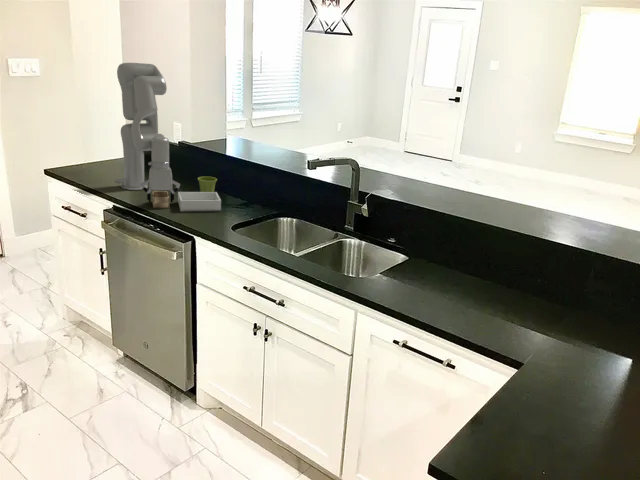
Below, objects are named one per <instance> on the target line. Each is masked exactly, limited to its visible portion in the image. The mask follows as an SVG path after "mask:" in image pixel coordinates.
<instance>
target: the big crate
mask: <svg viewBox="0 0 640 480" xmlns="http://www.w3.org/2000/svg"><path fill="white" fill-rule="evenodd" d="M177 203H178V207H179V211H180V212H221V211H222V199H221V197H220V195H219V194H218V192H217V191H214V192H200V191H177Z"/></svg>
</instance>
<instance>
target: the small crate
mask: <svg viewBox="0 0 640 480" xmlns="http://www.w3.org/2000/svg"><path fill="white" fill-rule="evenodd" d="M151 192H152V193H151V201H152V202H151V203H152V208H153V209H170V195H169V191H153V190H152V191H151Z"/></svg>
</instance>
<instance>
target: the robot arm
mask: <svg viewBox="0 0 640 480" xmlns="http://www.w3.org/2000/svg"><path fill="white" fill-rule="evenodd" d="M116 75H117V80H118V83H119V86H120V90H121V102H122V103H121V104H122V106H121V107H122V114H123V117H124V119H125V120H128V121H132V123H131V122H130V123H125V124H124V125H122V126H121V128H120V137H121V141H122V142H121V143H122V150H123V151H122V152H123V177H121V178H114V183H117V184H120V188H122V189H124V190H128V191H141V190H143V191H144V192H145V193H146V200H147V201H148V203H152V202H151V201H152V193H151V192H152V191H168V192H169V191H170V203H174V200H175V194H176V192H178V190H179V189H180V186H181V183H179V182H177V181H175V180H174V179H173V173H172V169H171V167H170V139H169V138H168V137H165V135H164V134H162V133H159V119H158V118H159V117H158V116H159V115H158V103H157V98H156V96H163V95H165V94H166V93H167V82H166V80H165V78H164V76H163V74H162V73H161V71H160V70H159V68H158V67H157V66H156V65H154V64H153V63H141V62H123V63H119V65H118V66H117V70H116ZM142 121H145V122H144V123H141V122H142ZM149 151H151V161H148V166H150V168H149V172H148V173H149V174H148V179H147V180H145V152H149ZM173 185H174V186H175V187H174V188H173Z"/></svg>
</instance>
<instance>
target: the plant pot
mask: <svg viewBox="0 0 640 480" xmlns="http://www.w3.org/2000/svg"><path fill="white" fill-rule="evenodd" d="M197 181H198V183H199V192H215V188H216V187H215V186H216V183H217V181H218V178H216V177H213V176H199V177H197Z"/></svg>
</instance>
